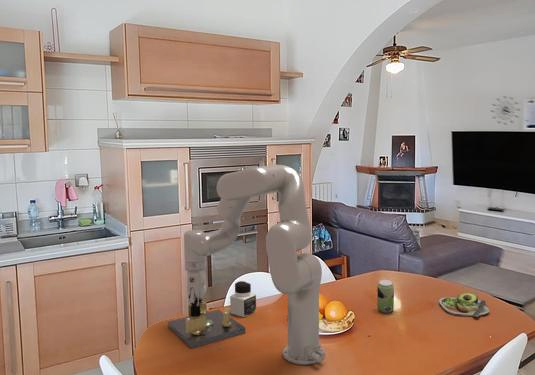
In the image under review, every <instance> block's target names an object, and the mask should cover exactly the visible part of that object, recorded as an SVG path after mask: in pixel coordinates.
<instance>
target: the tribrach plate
mask: <svg viewBox="0 0 535 375" xmlns="http://www.w3.org/2000/svg"><path fill="white" fill-rule="evenodd" d="M223 312H224V311H221V310H220V309H215V310H211V311H207V315H204V316H205V317H206V329H205V330H202V331H201V334H199V335H192V334H191V333H190V334H188V333H186V319H187V318H193V317H189V316H186V317H183V318H179V319H175V320H170V321H168V322H167V324H168V328H169V329H170V330H171V332H173V333H174V334H175V335H176V336H177V337H178V338H179V339H180V340H182V342H184V344H186V345H187V346H188V347H189V348H190V349H195V348H198V347H202V346H205V345H209V344H211V343H215V342H216V343H217V342H219V341H223V340H226V339H229V338H234V337H236V336H240V335H244V334H246V327H245V326H244V325H243V324H241V323H239V322H238V321H237V320H235V319H233V318H232V317H231V316H230V321H231V326H229V327H224V326H222V322H223Z"/></svg>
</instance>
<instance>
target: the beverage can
mask: <svg viewBox="0 0 535 375" xmlns="http://www.w3.org/2000/svg"><path fill="white" fill-rule="evenodd" d="M376 292H377V299H376V300H377V304H376V305H377V307H376V308H377V310H378V311H380V312H381V313H386V314H387V313H391V312H392V311H394V307H395V306H394V305H395V304H394V303H395V302H394V301H395V285H394V283H393V281H392V280H390V279H380V280H379V281H378V284H377V290H376Z"/></svg>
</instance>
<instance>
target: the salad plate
mask: <svg viewBox="0 0 535 375" xmlns="http://www.w3.org/2000/svg"><path fill="white" fill-rule="evenodd" d="M438 303H439V304H438V305H440V307H442V309H443V310H444V311H446V312H447V313H449V314H451V315H454V316H458V317H471V318H473V317H475V318H477V317H478V318H479V316H483V315H486V314H489V313H490V310H489V308H488V307H487V306H486V303H487V302H486V300H483V299H481V300H479V297H478V296H477V294H475V293H473V292H462V293H460V294H458V296H457V297H446V296H445V297H442V298H439V300H438ZM450 309H452V310H450ZM453 310H456V311H453ZM458 311H459V312H458Z"/></svg>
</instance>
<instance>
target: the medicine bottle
mask: <svg viewBox="0 0 535 375" xmlns="http://www.w3.org/2000/svg"><path fill="white" fill-rule="evenodd" d="M251 286H252V283H251V282H250V281H247V280H239V281H238V282H235V283H234V293H233V294H231V295H230V297H229V300H230V302H229V304H230V306H229V307H230V315H233V316H238V317H241V318H247V317H249V316H251V315H253V314H254V313H257V294H256V293H252V287H251Z"/></svg>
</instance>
